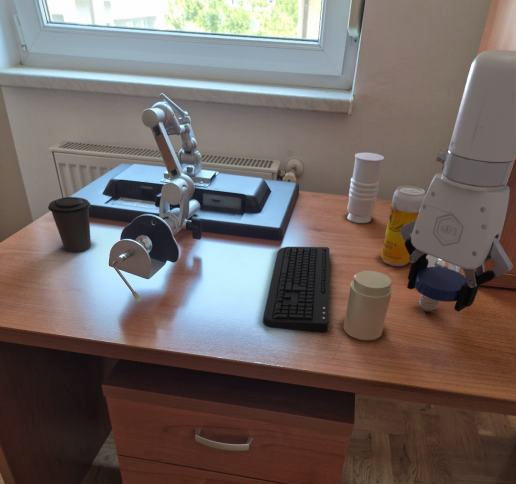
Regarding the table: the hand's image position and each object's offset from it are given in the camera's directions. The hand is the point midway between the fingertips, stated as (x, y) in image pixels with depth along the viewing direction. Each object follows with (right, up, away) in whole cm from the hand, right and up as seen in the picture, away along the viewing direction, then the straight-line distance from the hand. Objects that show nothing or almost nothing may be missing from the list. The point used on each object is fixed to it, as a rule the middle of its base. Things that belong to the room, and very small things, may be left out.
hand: (437, 295), depth 68 cm
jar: (-8, -4, +11) cm, 14 cm away
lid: (0, +2, -1) cm, 2 cm away
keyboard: (-18, +4, +22) cm, 29 cm away
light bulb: (+4, -1, +17) cm, 17 cm away
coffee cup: (-64, +14, +32) cm, 73 cm away
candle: (0, +25, +51) cm, 57 cm away
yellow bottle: (+3, +11, +32) cm, 34 cm away
